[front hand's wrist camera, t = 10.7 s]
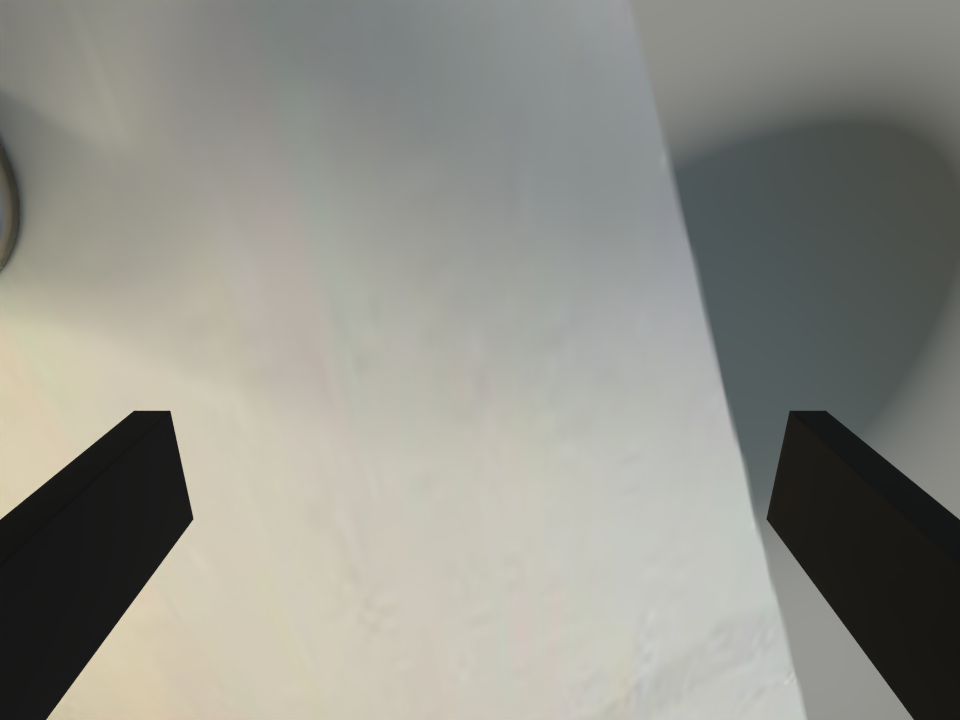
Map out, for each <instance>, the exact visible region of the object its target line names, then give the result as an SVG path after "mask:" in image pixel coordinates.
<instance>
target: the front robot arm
mask: <svg viewBox="0 0 960 720" xmlns="http://www.w3.org/2000/svg"><path fill="white" fill-rule="evenodd" d="M18 225H19V200H18V194H17V187H16V183H15V179H14V175H13V172H12V169H11V166H10V163H9V161H8V159H7V156H6V154H5V152H4V149H3V147H2V146H1V144H0V269H1V268H2V266H3V265H4V264H5V262H6V261H7V259H8V257H9V255H10V253H11V251H12V249H13V246H14V243H15V240H16V236H17V231H18ZM192 520H193V515H192V510H191V505H190V501H189V496H188V491H187V487H186V482H185V477H184V473H183V468H182V463H181V459H180V454H179V449H178V445H177V440H176V435H175V431H174V426H173V421H172V417H171V412H170V411H133V412H132V413H131V414H130V415H128V416H127V417H126V418H125V419H123V420H122V421H121V422H120V423H119V424H117V425H116V426H115V427H114V428H112V429H111V430H110V431H109V432H108V433H106V434H105V435H104V436H103V437H101V438H100V439H99V440H98V441H96V442H95V443H94V444H93V445H92V446H90V447H89V448H88V449H87V450H85V451H84V452H83V453H82V454H80V455H79V456H78V457H77V458H76V459H74V460H73V461H72V462H71V463H69V464H68V465H67V466H66V467H65V468H63V469H62V470H61V471H60V472H58V473H57V474H56V475H55V476H53V477H52V478H51V479H50V480H49V481H47V482H46V483H45V484H44V485H42V486H41V487H40V488H39V489H38V490H36V491H35V492H34V493H33V494H31V495H30V496H29V497H28V498H26V499H25V500H24V501H23V502H22V503H20V504H19V505H18V506H17V507H15V508H14V509H13V510H12V511H11V512H9V513H8V514H7V515H6V516H4V517H3V518H2V519H1V520H0V720H46V719H47V718H48V716H49V715H50V714H51V712H52V711H53V710H54V708H55V707H56V705H57V704H58V703H59V701H60V700H61V699H62V697H63V696H64V695H65V693H66V692H67V690H68V689H69V688H70V686H71V685H72V684H73V682H74V681H75V680H76V678H77V677H78V676H79V674H80V673H81V671H82V670H83V669H84V667H85V666H86V665H87V663H88V662H89V661H90V659H91V658H92V656H93V655H94V654H95V652H96V651H97V650H98V648H99V647H100V646H101V644H102V643H103V641H104V640H105V639H106V637H107V636H108V635H109V633H110V632H111V631H112V629H113V628H114V627H115V625H116V624H117V622H118V621H119V620H120V618H121V617H122V616H123V614H124V613H125V612H126V610H127V609H128V607H129V606H130V605H131V603H132V602H133V601H134V599H135V598H136V597H137V595H138V594H139V592H140V591H141V590H142V588H143V587H144V586H145V584H146V583H147V582H148V580H149V579H150V578H151V576H152V575H153V573H154V572H155V571H156V569H157V568H158V567H159V565H160V564H161V563H162V561H163V560H164V558H165V557H166V556H167V554H168V553H169V552H170V550H171V549H172V548H173V546H174V545H175V544H176V542H177V541H178V539H179V538H180V537H181V535H182V534H183V533H184V531H185V530H186V529H187V527H188V526H189V524H190V523H191V522H192ZM767 520H768V522H769V523H770V524H771V526H772V527H773V529H774V530H775V531H776V533H777V534H778V535H779V537H780V538H781V539H782V541H783V542H784V544H785V545H786V546H787V547H788V549H789V550H790V552H791V553H792V554H793V556H794V557H795V558H796V560H797V561H798V563H799V564H800V565H801V567H802V568H803V569H804V571H805V572H806V573H807V575H808V576H809V578H810V579H811V580H812V582H813V583H814V584H815V586H816V587H817V588H818V590H819V591H820V592H821V594H822V595H823V597H824V598H825V599H826V601H827V602H828V603H829V605H830V606H831V607H832V609H833V610H834V612H835V613H836V614H837V616H838V617H839V618H840V620H841V621H842V622H843V624H844V625H845V627H846V628H847V629H848V630H849V632H850V633H851V635H852V636H853V637H854V639H855V640H856V641H857V643H858V644H859V646H860V647H861V648H862V650H863V651H864V652H865V654H866V655H867V656H868V658H869V659H870V660H871V662H872V663H873V664H874V666H875V667H876V669H877V670H878V671H879V673H880V674H881V676H882V677H883V678H884V679H885V681H886V682H887V684H888V685H889V686H890V688H891V689H892V690H893V692H894V693H895V695H896V696H897V697H898V699H899V700H900V701H901V703H902V704H903V705H904V707H905V708H906V710H907V711H908V712H909V713H910V715H911V716H912V718H913V719H914V720H960V520H959V519H958V518H957V517H955V516H954V515H953V514H952V513H951V512H949V511H948V510H947V509H946V508H945V507H943V506H942V505H941V504H940V503H938V502H937V501H936V500H935V499H934V498H932V497H931V496H930V495H929V494H927V493H926V492H925V491H924V490H922V489H921V488H920V487H919V486H918V485H916V484H915V483H914V482H913V481H911V480H910V479H909V478H908V477H907V476H905V475H904V474H903V473H902V472H900V471H899V470H898V469H897V468H895V467H894V466H893V465H892V464H891V463H889V462H888V461H887V460H886V459H884V458H883V457H882V456H881V455H879V454H878V453H877V452H876V451H875V450H873V449H872V448H871V447H870V446H868V445H867V444H866V443H865V442H864V441H862V440H861V439H860V438H859V437H857V436H856V435H855V434H854V433H852V432H851V431H850V430H849V429H848V428H846V427H845V426H844V425H843V424H841V423H840V422H839V421H838V420H837V419H835V418H834V417H833V416H832V415H830V414H829V413H828V412H827V411H790V412H789V417H788V421H787V426H786V431H785V435H784V440H783V445H782V449H781V454H780V459H779V463H778V468H777V473H776V477H775V482H774V487H773V491H772V496H771V501H770V505H769V510H768V515H767Z"/></svg>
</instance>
